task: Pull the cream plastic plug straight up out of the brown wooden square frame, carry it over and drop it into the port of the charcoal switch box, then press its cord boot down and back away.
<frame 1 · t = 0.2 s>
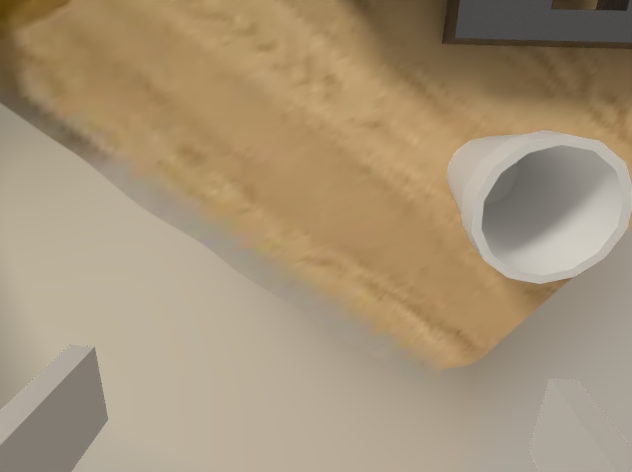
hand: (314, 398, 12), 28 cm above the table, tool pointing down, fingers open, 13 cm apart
foam cup: (481, 171, 37), on the table
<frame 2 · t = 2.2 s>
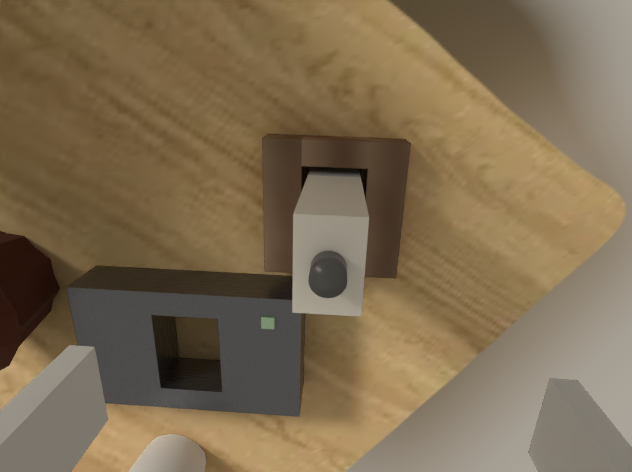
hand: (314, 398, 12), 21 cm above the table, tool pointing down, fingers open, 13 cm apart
foam cup: (177, 455, 42), on the table
muffin: (12, 275, 36), on the table
switch box: (204, 327, 36), on the table
plug: (331, 231, 25), in the brown wooden square frame
brown wooden square frame: (333, 202, 31), on the table
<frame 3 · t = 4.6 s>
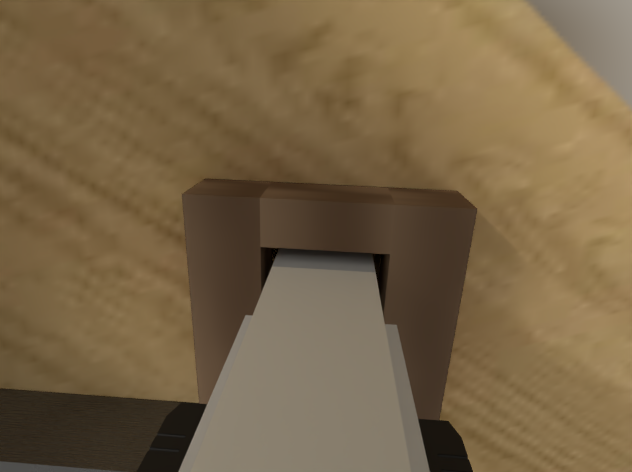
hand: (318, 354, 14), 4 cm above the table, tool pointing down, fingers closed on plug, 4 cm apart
plug: (313, 411, 11), in the brown wooden square frame, touching gripper
brown wooden square frame: (324, 296, 18), on the table
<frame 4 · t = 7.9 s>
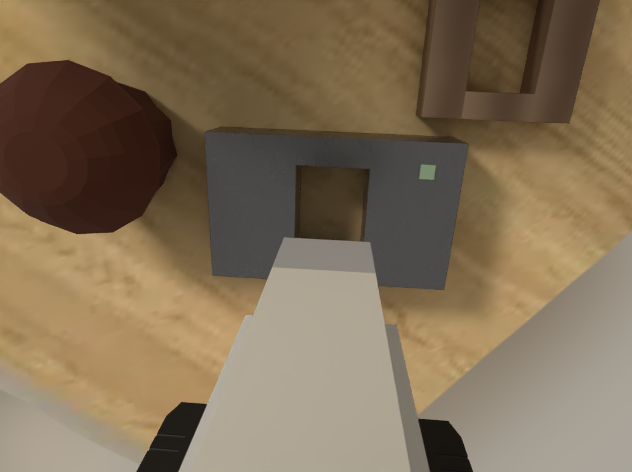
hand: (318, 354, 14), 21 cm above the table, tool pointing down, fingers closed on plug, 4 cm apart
muffin: (125, 141, 33), on the table
switch box: (331, 200, 33), on the table
plug: (313, 412, 11), point 23 cm above the table, touching gripper
brown wooden square frame: (496, 44, 28), on the table
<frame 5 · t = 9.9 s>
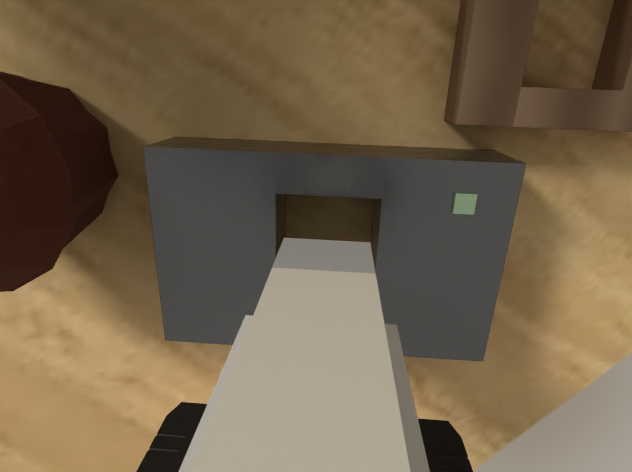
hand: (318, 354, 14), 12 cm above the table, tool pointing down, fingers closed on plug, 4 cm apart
muffin: (48, 156, 24), on the table
switch box: (327, 235, 25), on the table
plug: (313, 413, 11), point 14 cm above the table, touching gripper
brown wooden square frame: (561, 19, 20), on the table
when the fingers open (6 cm above the table, at t = 11.5 s): plug drops 2 cm, resting in switch box.
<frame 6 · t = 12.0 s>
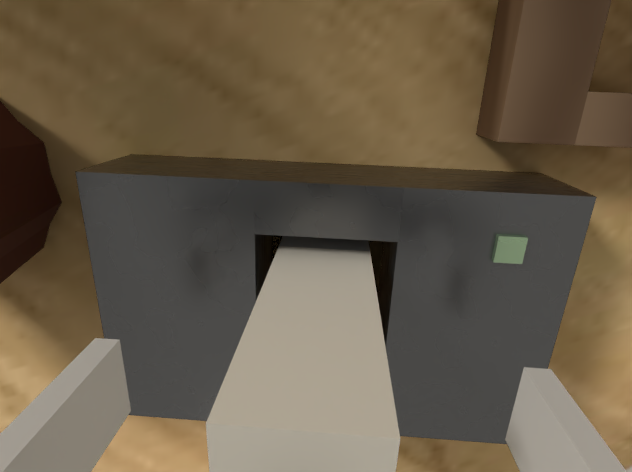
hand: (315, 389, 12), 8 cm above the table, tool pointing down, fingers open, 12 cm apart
switch box: (325, 276, 20), on the table
plug: (315, 366, 13), in the switch box
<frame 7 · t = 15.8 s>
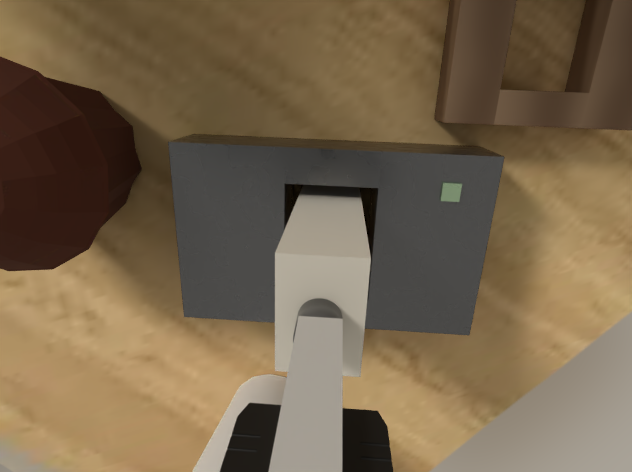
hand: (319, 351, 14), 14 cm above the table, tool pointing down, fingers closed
foam cup: (272, 403, 33), on the table
muffin: (78, 151, 27), on the table
switch box: (330, 223, 27), on the table
plug: (325, 264, 21), in the switch box
brown wooden square frame: (536, 30, 23), on the table
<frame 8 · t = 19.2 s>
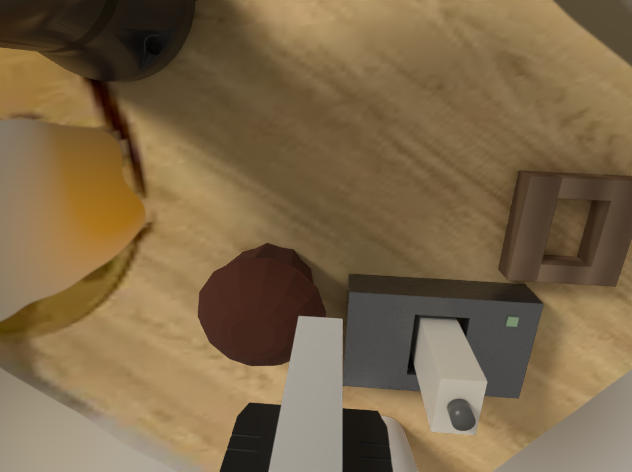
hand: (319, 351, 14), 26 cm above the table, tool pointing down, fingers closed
foam cup: (378, 434, 49), on the table
muffin: (273, 281, 43), on the table
switch box: (429, 324, 43), on the table
plug: (443, 365, 37), in the switch box
brown wooden square frame: (561, 224, 39), on the table
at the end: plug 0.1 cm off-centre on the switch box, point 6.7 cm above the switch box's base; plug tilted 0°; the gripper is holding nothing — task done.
